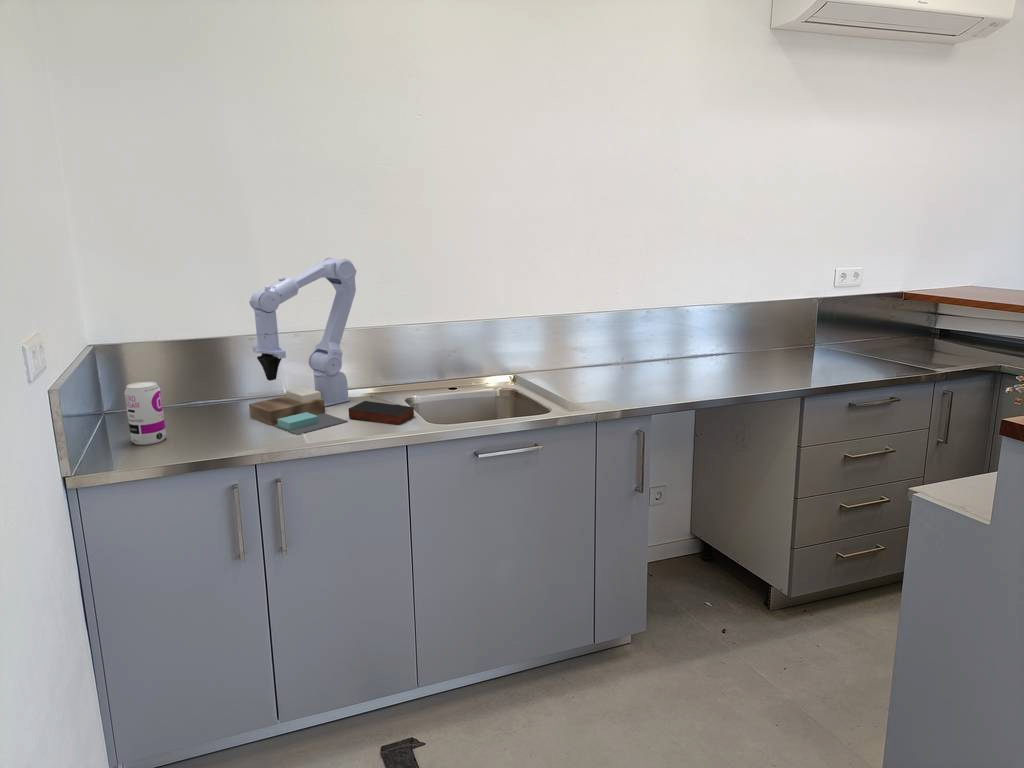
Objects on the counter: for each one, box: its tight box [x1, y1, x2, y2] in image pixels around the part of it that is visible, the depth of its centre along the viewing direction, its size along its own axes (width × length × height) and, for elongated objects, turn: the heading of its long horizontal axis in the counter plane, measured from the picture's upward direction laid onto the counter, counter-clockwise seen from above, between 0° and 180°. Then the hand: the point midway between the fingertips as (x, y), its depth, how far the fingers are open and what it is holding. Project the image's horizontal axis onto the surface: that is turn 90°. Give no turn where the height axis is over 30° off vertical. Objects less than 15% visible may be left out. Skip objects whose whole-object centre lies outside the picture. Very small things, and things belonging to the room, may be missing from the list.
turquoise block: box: [277, 412, 319, 430], centre depth 200 cm, size 9×6×2 cm, turn 137°
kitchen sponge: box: [348, 395, 415, 426], centre depth 210 cm, size 19×3×15 cm
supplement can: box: [124, 381, 167, 446], centre depth 187 cm, size 8×8×15 cm
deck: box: [248, 395, 326, 427], centre depth 210 cm, size 17×12×4 cm
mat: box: [272, 412, 349, 435], centre depth 202 cm, size 16×12×1 cm
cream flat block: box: [285, 386, 321, 403], centre depth 214 cm, size 9×6×2 cm, turn 47°
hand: (271, 379), depth 209 cm, fingers closed
